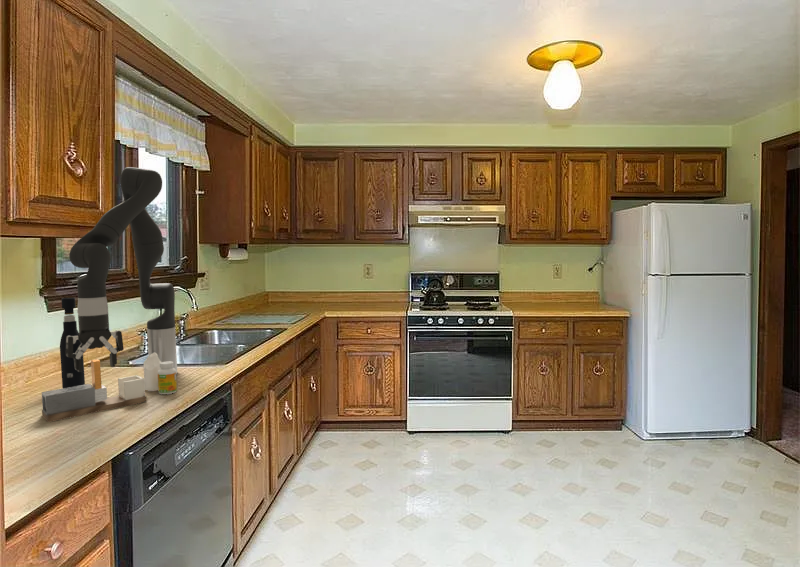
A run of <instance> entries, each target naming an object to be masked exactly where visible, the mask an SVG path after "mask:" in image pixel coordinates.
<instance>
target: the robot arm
mask: <svg viewBox="0 0 800 567" xmlns="http://www.w3.org/2000/svg"><path fill="white" fill-rule="evenodd" d="M119 178H120V179H119V180H120V189H121V194H122V195H123V196H122V197H123V200H124V201H123V202H121V203H119V204H117V205H115V206H113V207H112V208H111V209H109V210H107V212H105V213H103V215H102V216H101V218H100V219H99V220H98V222H97V223H95V225H94V227H93V228H92V229H91V230H90V231H89V232H87V233H86V234H84V235H82V237H81V238H79V239H78V240H77V241H76V242H75V243H74V244H73V245H72V247H71V249H70V250H69V254H68V256H69V261H70V263H71V264H72V265H73V266H74V267H76V268H80V269H88V270H87V273H86V275H85V276H82V277H80V278H78V280H77V285H76V286H77V312H76V313H77V319H78V321H77V322H78V332H79V334H78V336H67V337H66V356H67V357H69V358H74V368H75V370H77V371H78V372H82V363H81V359H80V357H81V356H82V355H83V356H84V353H86V351H87V350H88V349H89V350H93V349H102V348H103V347H104V348H105V349H107V351H109V352H110V353H109V366H110V368H114V367H115V366H116V365H117V364H118V358H117V357H118V356H117V354H118V353H119V352H122V351H124V341H123V340H124V339H123V334H122V333H123V332H122V331H121V330H119V329H117V330H115V331H114V330H113V331H110V321H109V320H110V319H109V306H108V305H109V303H108V300H107V286H106V285H107V284H106V282H107V279H108V275H109V270H110V265H111V259H112V258H111V253H110V250H109V248H108V247H110V246H111V247H112V246H113V245H115V244H116V243H117V242H118V241H119V239H120V237H121V236H122V235H123V234H124V232H125V230H126V229H127V227H128V226H129V225H130V230H131V237H132V245H133V251H134V255H135V256H134V257H135V260H136V267H137V271H138V282H139V295H140V303H141V305H142V307H143V308H144V310H145V309H146V310H163V312H162V314H160V315H159V316H157V317H154V318H151V319H148V321H147V322H146V329H147V331H146V332H147V333H146V334H147V349H148V350H147V351H148V356H149V355H151V354H152V353H154V352H155V353H157V355H158V358H159V360H160V361H161V362H165V361H172V362H173V368H174V369H176V375H177V374H178V356H177V355H178V353H177V339H176V335H177V334H176V317H175V316H176V315H175V314H176V313H175V305H176V304H175V302H176V301H175V300H176V298H175V296H176V294H175V287H174V286H173V284H172V283H169V282H168V283H167V282H165V283H164V282H163V283H160V282H159V283H152V282H151V276H152V274H153V271H154V269H155V268H156V266H157V264H158V263H159V262H160V260H161V258H162V257H163V254H164V250H165V247H164V239H163V234H162V231H161V229H160V228H159V225H158V224H157V223H156V222H155V220H154V219H153V217H152V216H151V215H150V213H149V211H148V210H147V207H148V206H149V205H150V204H151V203H152V202H153V201H155V199H157V197H158V196H159V195H160V193H161V191H162V189H163V179H162V176H161V174H160V173H159V172H158V171H156V170H153V169H150V168H149V169H148V168H140V167H136V166H135V167H133V166H127V167H125V168H124V169H123V170H122V172H121V174H120V177H119ZM111 337H112V338H113V339H115V346H116V347H114V346H113V345H112V344H111V343H110V342H109V340H110V338H111ZM76 340H79V341H80V342H81V345H80V346H79V347H78V350H77V351H76V352H75V354H74V353H73V344H74V343H75V342H76ZM82 346H83V347H82Z"/></svg>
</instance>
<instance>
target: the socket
mask: <svg viewBox="0 0 800 567" xmlns="http://www.w3.org/2000/svg"><path fill="white" fill-rule="evenodd" d="M117 383H118V384H117V385H118V386H117V387H118V395H119V396H120V397H121V398H123V399H124V400H129V399H134V398H139V397H144V396H146V391H145V382H144V377H142V376H140V375H137V374H135V375H131V376H130V375H129V376H125V377H120V378H119V377H118V378H117Z"/></svg>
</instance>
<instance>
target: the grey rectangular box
mask: <svg viewBox="0 0 800 567" xmlns="http://www.w3.org/2000/svg"><path fill="white" fill-rule="evenodd" d="M45 399H46V408H45ZM41 403H42V410H43V412H44V413H45V414H46V415H47V416H48V415H53V414H58V413H63V412H68V411H73V410H78V409H83V408H88V407H93V406H96V404H95V388H94V387H93V386H92V384H90V383H85V385H80V386H74V387H68V388H57V389H52V390H51V389H50V390H46V391H41Z"/></svg>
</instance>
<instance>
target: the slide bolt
mask: <svg viewBox="0 0 800 567" xmlns="http://www.w3.org/2000/svg"><path fill="white" fill-rule="evenodd" d="M90 365H91V366H90V369H91V370H90V371H91V383H92V384H91V385H92V386H93V387H94V388H95V402H98V401H103V400H107V397H108V391H107V390H108V389H107V387H106V386H105V385H104V384H102V372H101V360H99V359H97V358H96V359H91V360H90ZM45 408H46V399H45Z"/></svg>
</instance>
